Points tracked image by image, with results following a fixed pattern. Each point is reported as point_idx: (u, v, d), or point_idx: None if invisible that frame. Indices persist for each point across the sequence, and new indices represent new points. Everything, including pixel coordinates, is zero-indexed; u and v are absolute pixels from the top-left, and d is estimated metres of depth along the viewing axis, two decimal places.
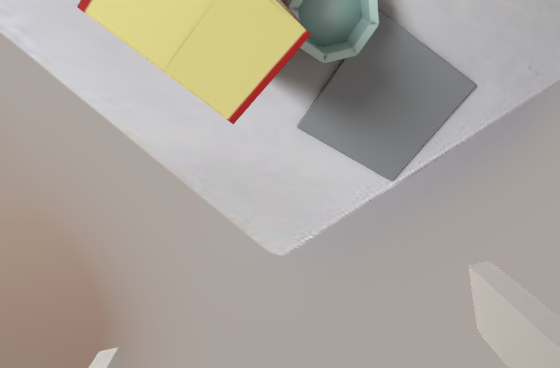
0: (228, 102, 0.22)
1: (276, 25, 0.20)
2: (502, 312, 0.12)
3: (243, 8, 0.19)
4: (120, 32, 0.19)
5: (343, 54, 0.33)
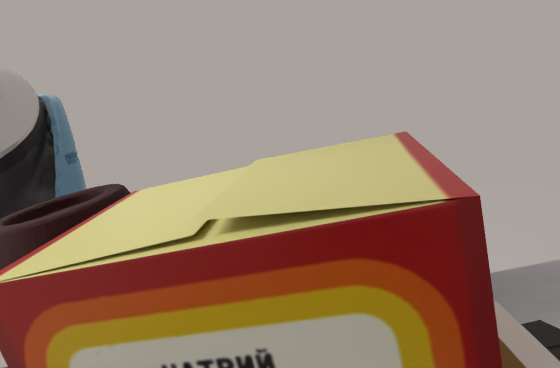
0: (400, 192, 0.07)
1: (351, 145, 0.12)
2: None
3: (291, 160, 0.11)
4: (70, 261, 0.08)
5: None
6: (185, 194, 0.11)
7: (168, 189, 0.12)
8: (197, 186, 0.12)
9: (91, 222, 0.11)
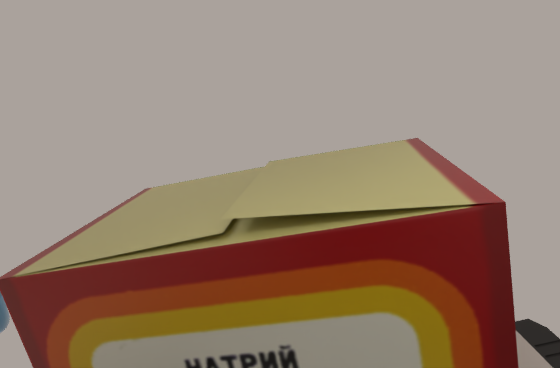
0: (424, 196, 0.07)
1: (365, 150, 0.12)
2: None
3: (306, 162, 0.12)
4: (97, 255, 0.08)
5: None
6: (202, 193, 0.11)
7: (182, 187, 0.13)
8: (212, 185, 0.12)
9: (108, 218, 0.11)
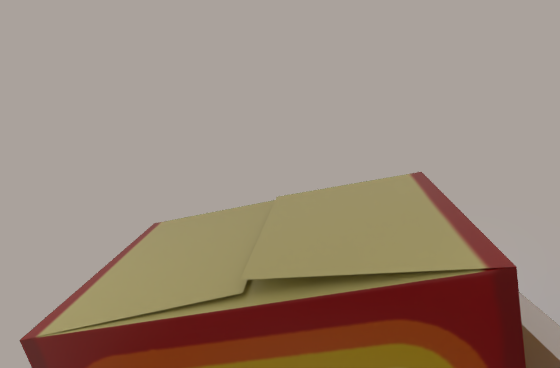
0: (437, 254, 0.07)
1: (371, 186, 0.12)
2: None
3: (314, 200, 0.12)
4: (119, 314, 0.08)
5: None
6: (213, 234, 0.11)
7: (192, 225, 0.13)
8: (222, 224, 0.12)
9: (122, 262, 0.11)
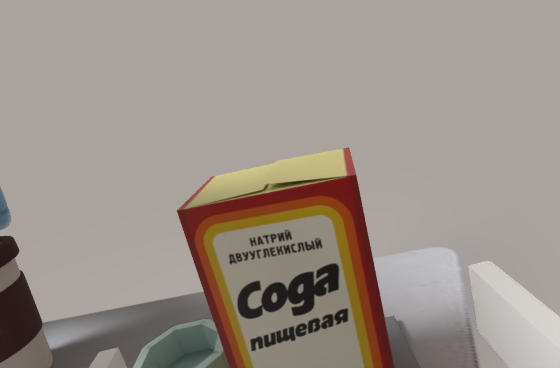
0: (335, 174, 0.20)
1: (322, 154, 0.25)
2: (502, 312, 0.12)
3: (294, 161, 0.24)
4: (215, 200, 0.20)
5: (207, 361, 0.28)
6: (246, 177, 0.24)
7: (233, 175, 0.25)
8: (249, 173, 0.25)
9: (204, 189, 0.23)
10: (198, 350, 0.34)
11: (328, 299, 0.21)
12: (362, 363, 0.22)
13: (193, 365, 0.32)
